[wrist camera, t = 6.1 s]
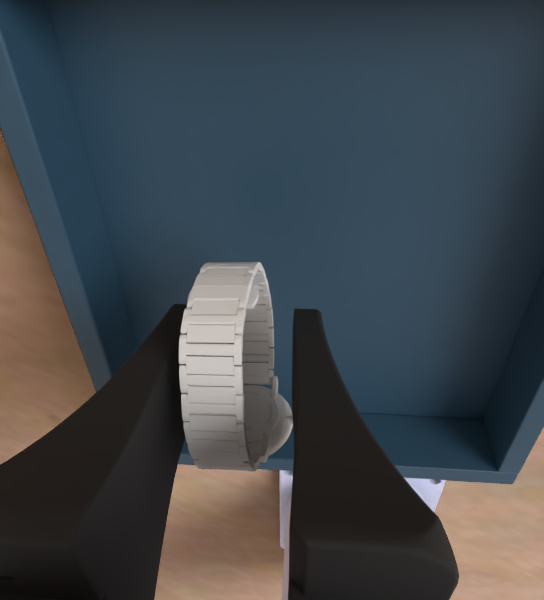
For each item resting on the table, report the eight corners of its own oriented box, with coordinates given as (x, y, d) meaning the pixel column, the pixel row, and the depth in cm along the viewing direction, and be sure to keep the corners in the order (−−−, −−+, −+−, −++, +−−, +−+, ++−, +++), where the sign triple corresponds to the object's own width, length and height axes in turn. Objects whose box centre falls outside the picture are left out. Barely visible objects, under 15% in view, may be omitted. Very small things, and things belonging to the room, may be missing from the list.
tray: (493, 419, 22) (513, 485, 20) (141, 401, 24) (120, 461, 21) (708, -86, 11) (812, -71, 9) (5, -77, 12) (-71, -62, 10)
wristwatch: (217, 357, 17) (179, 501, 13) (187, 228, 14) (127, 369, 10) (304, 359, 17) (292, 508, 13) (295, 226, 13) (275, 372, 10)
